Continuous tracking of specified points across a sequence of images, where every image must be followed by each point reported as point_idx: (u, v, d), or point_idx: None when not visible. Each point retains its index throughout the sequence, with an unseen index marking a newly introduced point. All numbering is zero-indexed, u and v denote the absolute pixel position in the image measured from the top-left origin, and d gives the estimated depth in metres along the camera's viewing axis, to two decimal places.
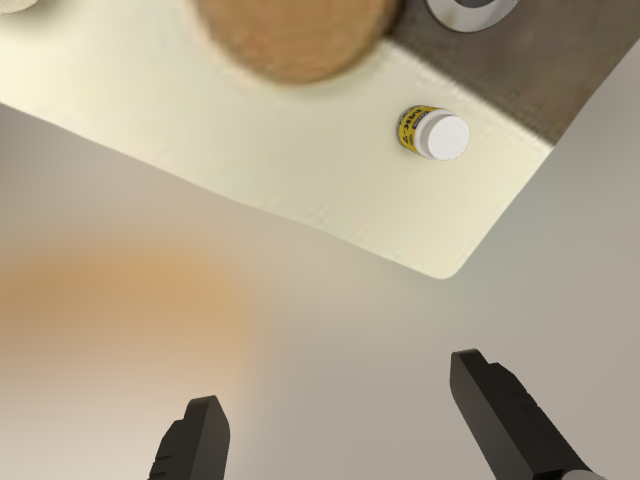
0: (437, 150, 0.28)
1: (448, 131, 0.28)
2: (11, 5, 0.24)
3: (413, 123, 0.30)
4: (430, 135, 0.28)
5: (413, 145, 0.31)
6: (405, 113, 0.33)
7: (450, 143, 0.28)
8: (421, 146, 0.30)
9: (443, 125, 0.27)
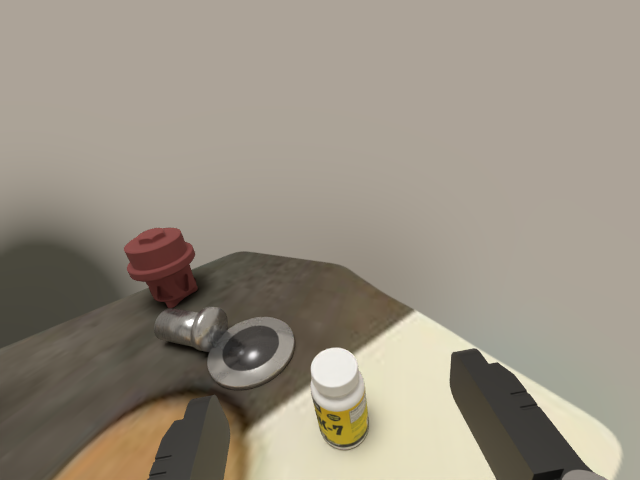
0: (340, 378, 0.24)
1: (325, 365, 0.26)
2: None
3: (317, 410, 0.26)
4: (320, 382, 0.24)
5: (338, 414, 0.25)
6: None
7: (339, 364, 0.26)
8: (338, 401, 0.25)
9: (317, 368, 0.26)
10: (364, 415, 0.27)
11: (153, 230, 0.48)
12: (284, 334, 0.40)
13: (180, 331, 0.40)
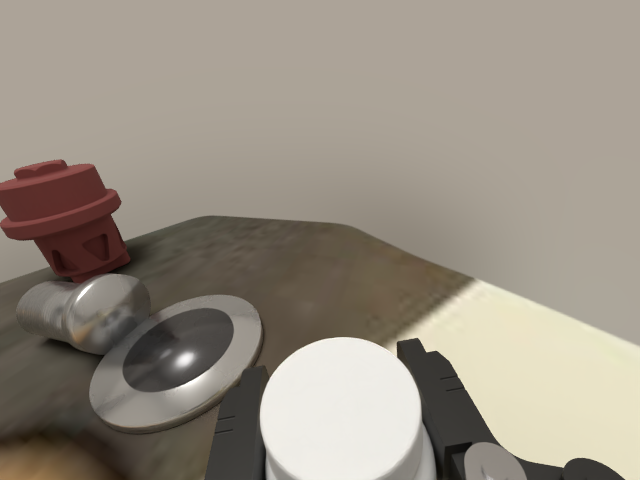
0: (362, 448, 0.06)
1: (310, 392, 0.08)
2: None
3: None
4: (287, 465, 0.06)
5: None
6: None
7: (355, 391, 0.08)
8: None
9: (282, 404, 0.08)
10: None
11: (47, 162, 0.30)
12: (245, 322, 0.22)
13: (53, 317, 0.22)
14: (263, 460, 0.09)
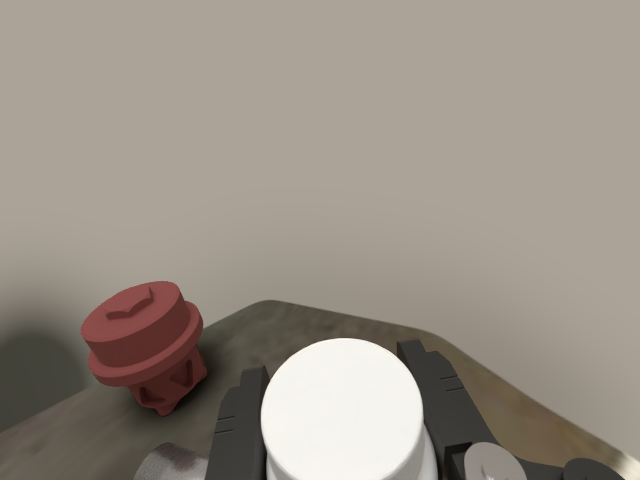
0: (364, 450, 0.06)
1: (311, 394, 0.08)
2: None
3: None
4: (288, 467, 0.06)
5: None
6: None
7: (357, 392, 0.08)
8: None
9: (283, 405, 0.08)
10: None
11: (133, 291, 0.29)
12: None
13: None
14: (263, 460, 0.09)
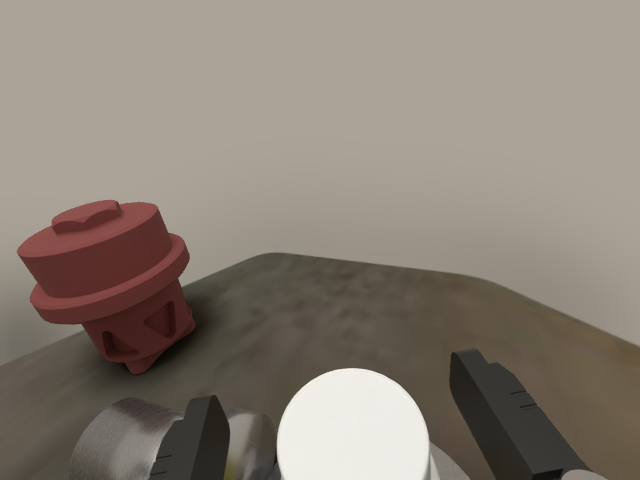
0: None
1: (324, 426, 0.08)
2: None
3: None
4: None
5: None
6: None
7: (367, 426, 0.08)
8: None
9: (297, 437, 0.08)
10: None
11: (95, 204, 0.21)
12: None
13: None
14: None
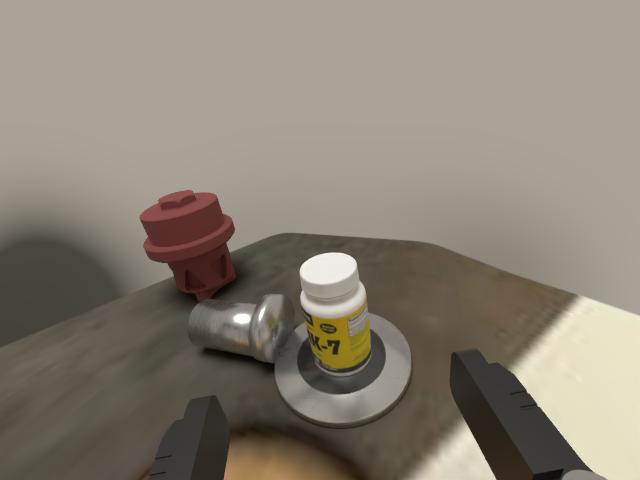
0: (335, 276, 0.20)
1: (317, 267, 0.21)
2: None
3: (309, 323, 0.21)
4: (310, 281, 0.20)
5: (334, 323, 0.20)
6: (313, 354, 0.24)
7: (334, 265, 0.21)
8: (333, 306, 0.20)
9: (307, 270, 0.21)
10: (366, 332, 0.22)
11: (179, 193, 0.35)
12: (388, 334, 0.26)
13: (229, 332, 0.26)
14: None
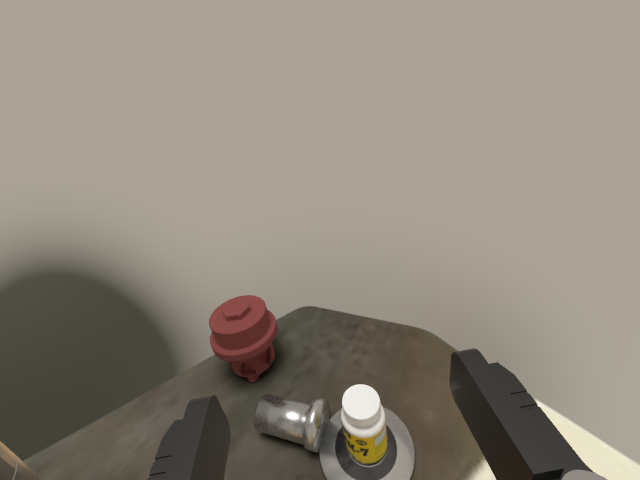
0: (366, 411, 0.31)
1: (354, 400, 0.32)
2: None
3: (347, 436, 0.32)
4: (351, 415, 0.31)
5: (365, 440, 0.31)
6: (347, 449, 0.35)
7: (364, 399, 0.32)
8: (365, 430, 0.31)
9: (347, 402, 0.32)
10: (385, 439, 0.33)
11: (237, 302, 0.45)
12: (398, 429, 0.37)
13: (287, 428, 0.36)
14: None
